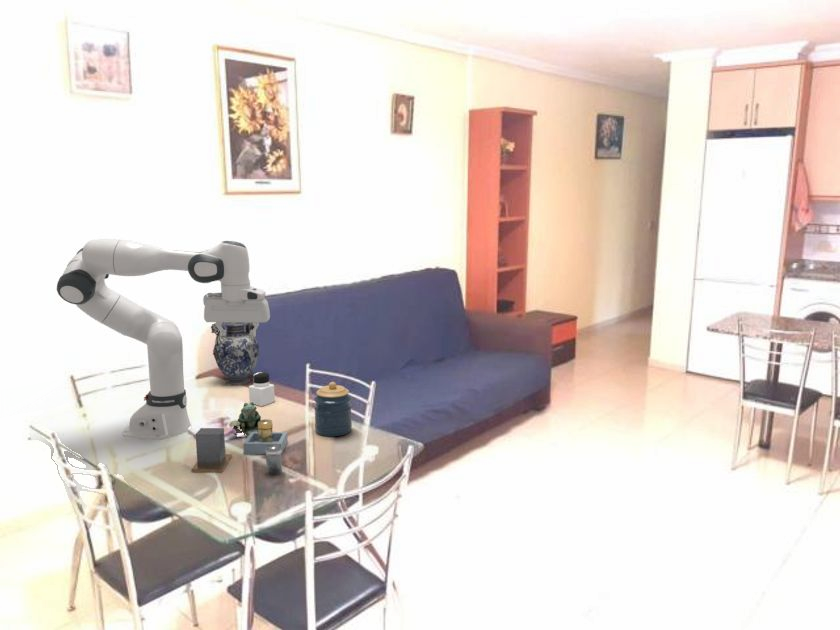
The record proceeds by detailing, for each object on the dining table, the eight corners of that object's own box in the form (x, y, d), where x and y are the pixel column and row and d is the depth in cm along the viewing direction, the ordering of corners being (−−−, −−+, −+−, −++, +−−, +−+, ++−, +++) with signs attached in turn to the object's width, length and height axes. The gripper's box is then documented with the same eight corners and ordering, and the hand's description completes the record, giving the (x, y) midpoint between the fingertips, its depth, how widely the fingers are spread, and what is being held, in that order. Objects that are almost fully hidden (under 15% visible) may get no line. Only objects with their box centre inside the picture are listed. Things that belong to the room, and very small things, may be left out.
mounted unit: (191, 472, 188) (189, 437, 186) (203, 457, 199) (201, 424, 197) (221, 472, 188) (219, 437, 186) (232, 457, 199) (230, 424, 197)
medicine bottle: (275, 401, 252) (274, 372, 250) (262, 406, 247) (260, 377, 244) (262, 398, 256) (261, 370, 254) (249, 403, 250) (247, 374, 248)
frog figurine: (223, 446, 208) (221, 413, 206) (218, 428, 225) (216, 396, 222) (277, 439, 215) (276, 406, 213) (269, 421, 231) (268, 391, 229)
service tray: (243, 454, 202) (243, 443, 201) (251, 441, 212) (251, 432, 211) (281, 454, 202) (281, 443, 201) (287, 442, 212) (287, 432, 211)
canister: (309, 427, 225) (308, 379, 222) (342, 421, 231) (342, 374, 228) (323, 439, 214) (322, 389, 211) (358, 432, 220) (357, 384, 217)
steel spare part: (264, 475, 187) (263, 449, 185) (268, 468, 191) (267, 443, 190) (280, 475, 187) (279, 449, 185) (283, 468, 191) (282, 443, 190)
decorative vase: (251, 373, 292) (248, 313, 286) (270, 382, 278) (267, 320, 272) (205, 382, 278) (202, 319, 273) (223, 392, 264) (219, 326, 259)
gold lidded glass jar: (260, 442, 209) (259, 419, 207) (274, 442, 209) (273, 419, 207) (257, 447, 204) (256, 424, 203) (271, 447, 204) (270, 424, 203)
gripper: (199, 294, 196) (202, 337, 198) (265, 294, 196) (267, 338, 199) (206, 291, 202) (208, 333, 205) (270, 291, 202) (271, 333, 205)
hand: (238, 335), depth 202 cm, fingers open, 8 cm apart
